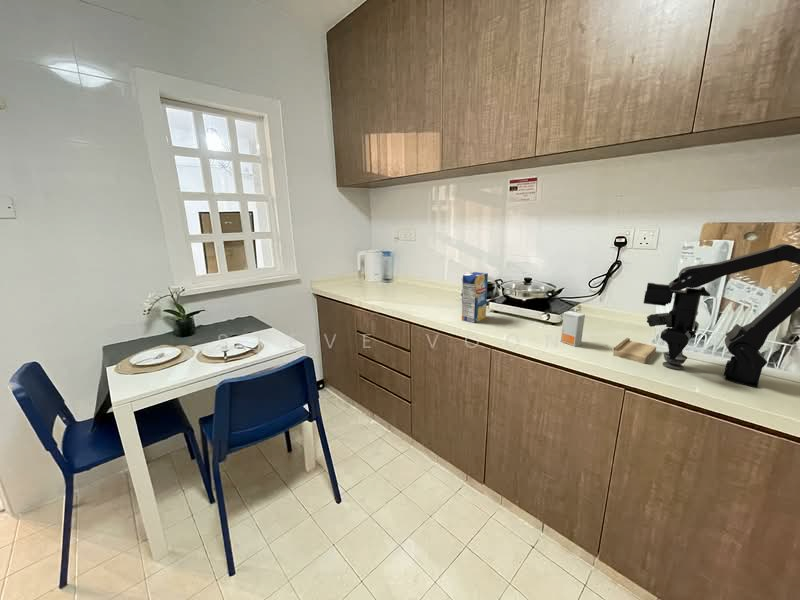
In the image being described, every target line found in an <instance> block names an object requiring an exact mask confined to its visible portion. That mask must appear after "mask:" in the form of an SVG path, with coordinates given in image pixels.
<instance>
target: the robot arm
mask: <svg viewBox="0 0 800 600" xmlns="http://www.w3.org/2000/svg"><path fill="white" fill-rule="evenodd" d="M779 262H789V263H793V264H796V265H798V266H799V265H800V248H798V247H797V246H795V245H792V244H789V243H787V244H786V243H781V244H777V245H775V246H773V247H769V248H766V249H761V250H759V251H754V252H751V253H747V254H744V255H739V256H737V257H733V258H729V259H727V260H726V259H725V260H723V261H720V262H714V263H705V264H703V263H702V264H695V265H690V266H686V267H684V268H682V269H681V270H680V271H679V272H678V274H677V275H678V276H677V277H676V278H674V280H672V281H670V282H669V283H668V284H663V283H662V284H661V283H660V284H659V283H656V282H655V283H654V282H648V283H647V285H646V290H645V292H644V298H643V304H644V305H645V304H646V305H653V306H654V305H655V306H661V307H662V306H663V307H666V305H669V304H671V303H672V300H673V305H672V309H671V310H670V311H668V312H663V313H651V314H649V315H648V316H646V319H647V320H646V323H647V324H648V327H651V328H652V327H655V326H656V327H657V326H665V327H666V328H665V329H663V330H662V331H661V333H660V337H659V338H660V339H661V340H662V341H664V342H665V343H667V346H668V352H669V356H670V359H672V360H675V359H676V357H677V356H678V355H679V354H680V352H681V351H682V350H683V351H684V349H685V347H687V346H688V344H689V342H690V341H691V340H692V338H693V337H694V336H695V335H696V333H697V331H699V326H700V324H699V323H698V322H697V320H696V319H697V316H698V314H699V311H698V310H699V305H700V301H701V297H702V296H703V297H711V293H710V292H709V291H707V289H706V288H705V286H704V285H706V284H709V283H711V282H713V281H716V280H718V279H719V278H721V277H725V276H729V275H733V274H737V273H741V272H744V271H748V270H753V269H756V268H759V267H764V266H767V265H771V264H772V265H773V264H776V263H779ZM684 289H685V290H684ZM673 294H674V298H673ZM799 308H800V273H799V275H798V276H797V278H796V280H795V281H794V283H792V284H791V285H790V286H788V287H787V289H786V290H785V291H783V293H781V295H779V296H778V297H777V298H776V299H774V301H773V302H772V303H771V304H769V305H768V306H767V307H766V308H765V309H764V310H763V311H762V312H761V313H760V314H758V315H757V316H756V317H755V318H754V319H752V321H751V322H749V323H748V324H745V325H743V326H741V325H739V324H738V323H736V324H735V325H733V327H732V329H731V330H730V331H728V332H726V333H725V334H724V335H725V336H726V337H724V344H725V346H726V348H727V351H728V352H729V353H730V355H731V357H730V359H729V360H727V362H726V364H725V367H724V372H723V376H725V377H724V380H725V381H729V382H733V383H737V384H741V385H744V386H748V387H752V388H759V383H760V378H761V375H762V374H761V373H762V370H763V368H764V367H765V366H767V364H768V361H767V360H766V358H765V357H764V356H763V354H762V352H761V351H760V350H761V348H762V347H763V346H764V345H765V343H766V340H767V339H768V337H769V335H770V334H771V333H772V332H773V331H774V330H776V328H777V327H778V326H780V325H781V324H782V323H784V321H785V320H786V319H788V318H789V317H790V316H792V314H793V313H795V312H796V311H797V310H798V309H799ZM683 351H682V352H683Z"/></svg>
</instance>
